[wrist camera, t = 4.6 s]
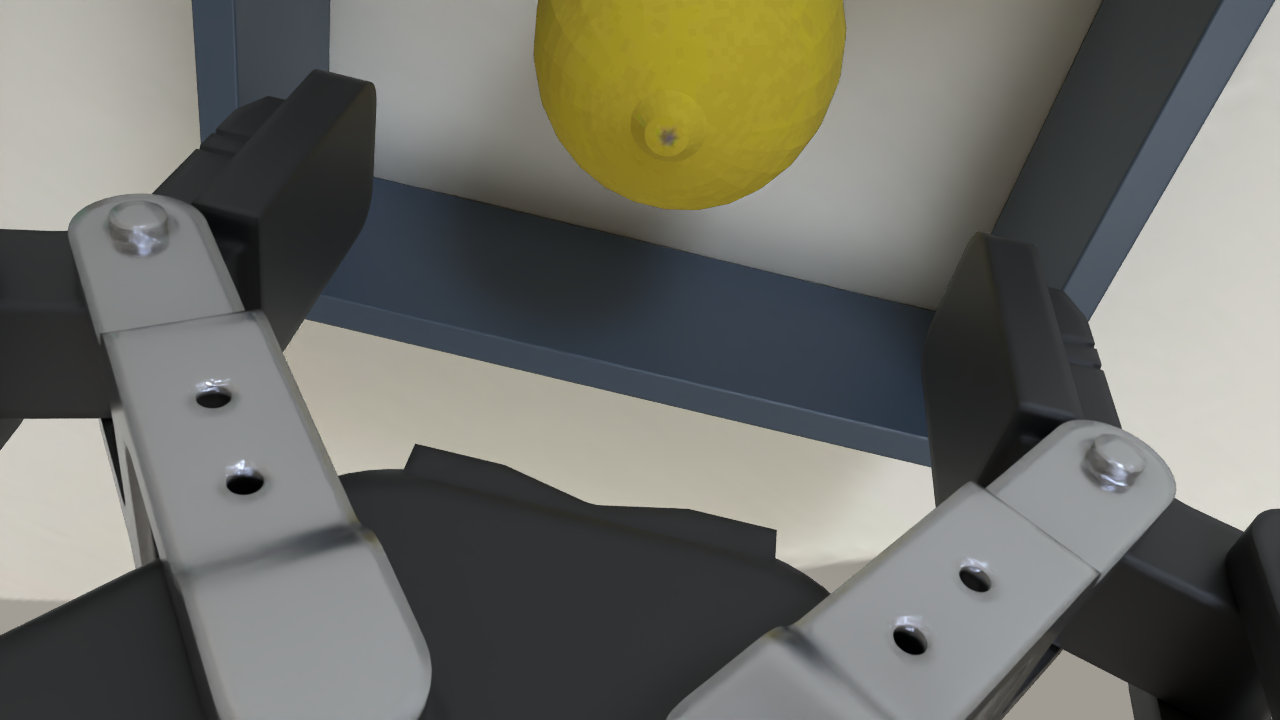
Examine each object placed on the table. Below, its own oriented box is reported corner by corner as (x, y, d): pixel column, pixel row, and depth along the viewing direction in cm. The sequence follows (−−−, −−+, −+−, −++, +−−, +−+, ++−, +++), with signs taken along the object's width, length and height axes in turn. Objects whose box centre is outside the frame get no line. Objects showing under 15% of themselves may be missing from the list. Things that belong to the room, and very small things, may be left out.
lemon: (757, 130, 25) (737, 339, 19) (537, 15, 24) (438, 195, 18) (895, -93, 22) (928, 70, 15) (647, -236, 21) (574, -123, 14)
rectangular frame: (295, 185, 27) (209, 297, 24) (294, -638, 18) (146, -679, 14) (970, 347, 28) (995, 483, 24) (1330, -370, 18) (1472, -336, 14)
